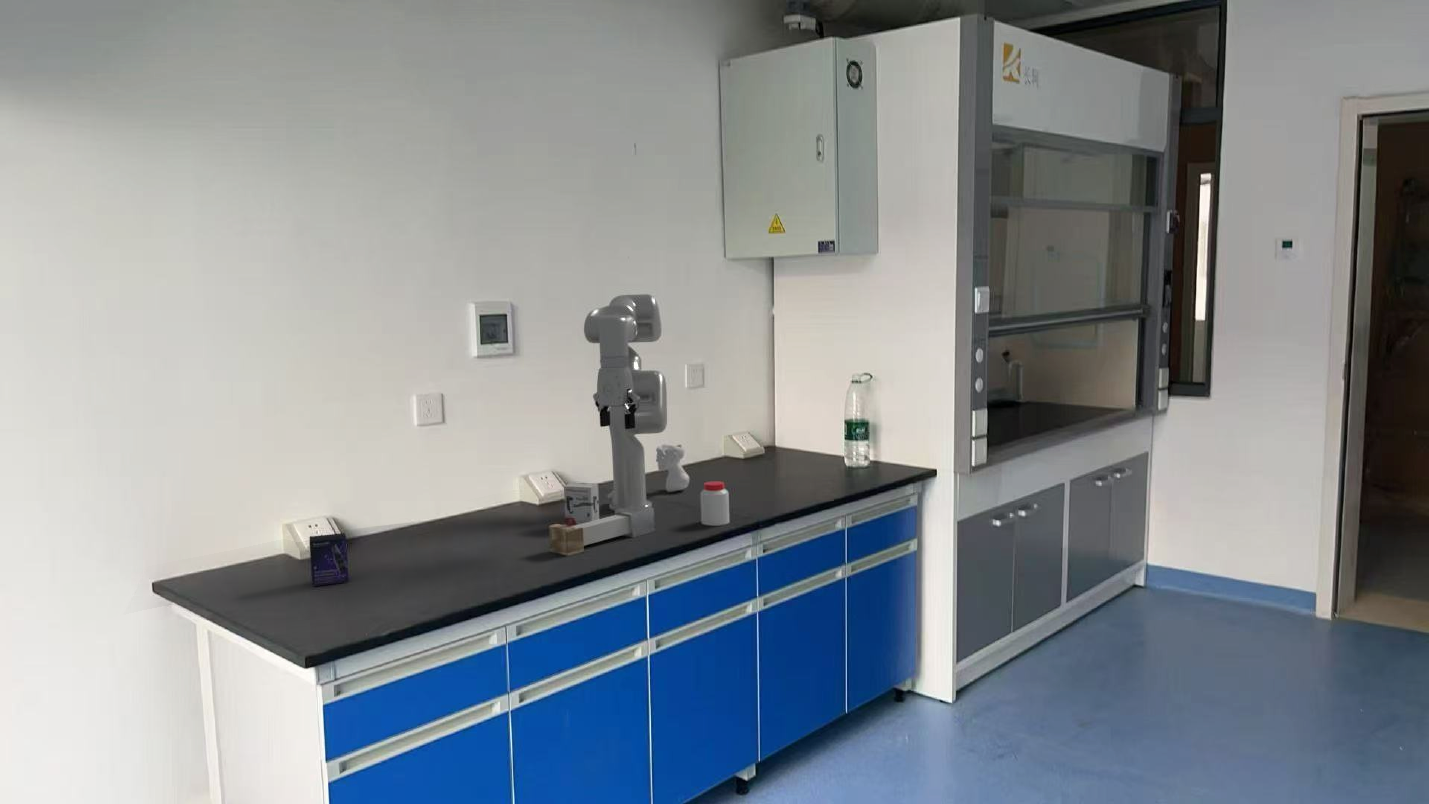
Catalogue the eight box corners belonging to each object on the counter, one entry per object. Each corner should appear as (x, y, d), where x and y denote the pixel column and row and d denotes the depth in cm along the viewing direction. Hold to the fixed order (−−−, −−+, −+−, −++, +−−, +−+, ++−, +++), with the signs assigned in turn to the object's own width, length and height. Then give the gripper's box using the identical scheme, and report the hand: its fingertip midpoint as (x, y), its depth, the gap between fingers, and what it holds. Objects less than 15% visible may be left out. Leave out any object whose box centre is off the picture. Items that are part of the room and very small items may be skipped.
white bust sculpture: (695, 491, 321) (693, 445, 320) (665, 496, 315) (663, 449, 314) (679, 487, 329) (677, 441, 328) (649, 492, 323) (647, 445, 321)
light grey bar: (560, 547, 253) (559, 529, 252) (624, 529, 269) (623, 512, 268) (570, 549, 250) (569, 531, 249) (635, 531, 266) (634, 514, 266)
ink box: (564, 527, 278) (562, 485, 277) (572, 523, 283) (570, 482, 281) (592, 529, 275) (590, 486, 274) (600, 524, 280) (598, 483, 278)
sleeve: (615, 534, 268) (614, 510, 268) (637, 528, 274) (636, 504, 274) (633, 537, 264) (631, 513, 263) (654, 531, 270) (653, 507, 269)
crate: (550, 551, 252) (549, 525, 252) (565, 547, 256) (564, 521, 255) (568, 555, 248) (567, 529, 247) (584, 551, 251) (582, 525, 251)
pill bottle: (726, 525, 273) (725, 486, 272) (698, 525, 275) (697, 485, 274) (731, 519, 281) (730, 480, 280) (704, 519, 282) (703, 480, 281)
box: (312, 587, 228) (308, 541, 227) (311, 581, 233) (308, 535, 232) (349, 582, 231) (346, 536, 230) (348, 576, 236) (344, 531, 235)
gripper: (582, 363, 269) (585, 427, 271) (626, 365, 257) (629, 431, 259) (603, 361, 275) (606, 423, 276) (647, 362, 263) (650, 427, 265)
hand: (617, 427), depth 268 cm, fingers open, 9 cm apart
